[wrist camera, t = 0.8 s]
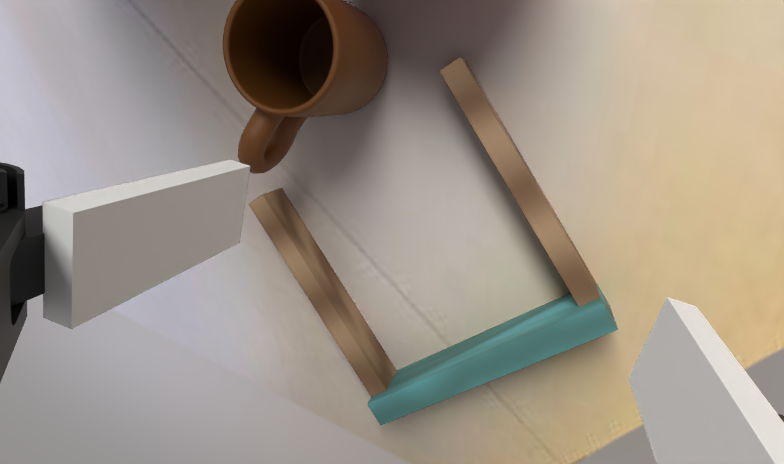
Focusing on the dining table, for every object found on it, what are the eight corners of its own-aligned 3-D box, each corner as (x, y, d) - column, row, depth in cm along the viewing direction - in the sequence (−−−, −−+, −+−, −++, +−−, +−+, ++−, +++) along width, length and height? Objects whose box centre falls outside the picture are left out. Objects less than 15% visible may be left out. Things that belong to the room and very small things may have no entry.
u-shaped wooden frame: (268, 197, 40) (241, 206, 37) (465, 60, 33) (457, 55, 30) (394, 396, 42) (380, 425, 38) (609, 305, 35) (618, 329, 31)
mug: (342, 183, 38) (284, 206, 30) (262, 138, 39) (183, 148, 31) (408, 33, 34) (364, 9, 25) (317, -13, 35) (243, -51, 26)
